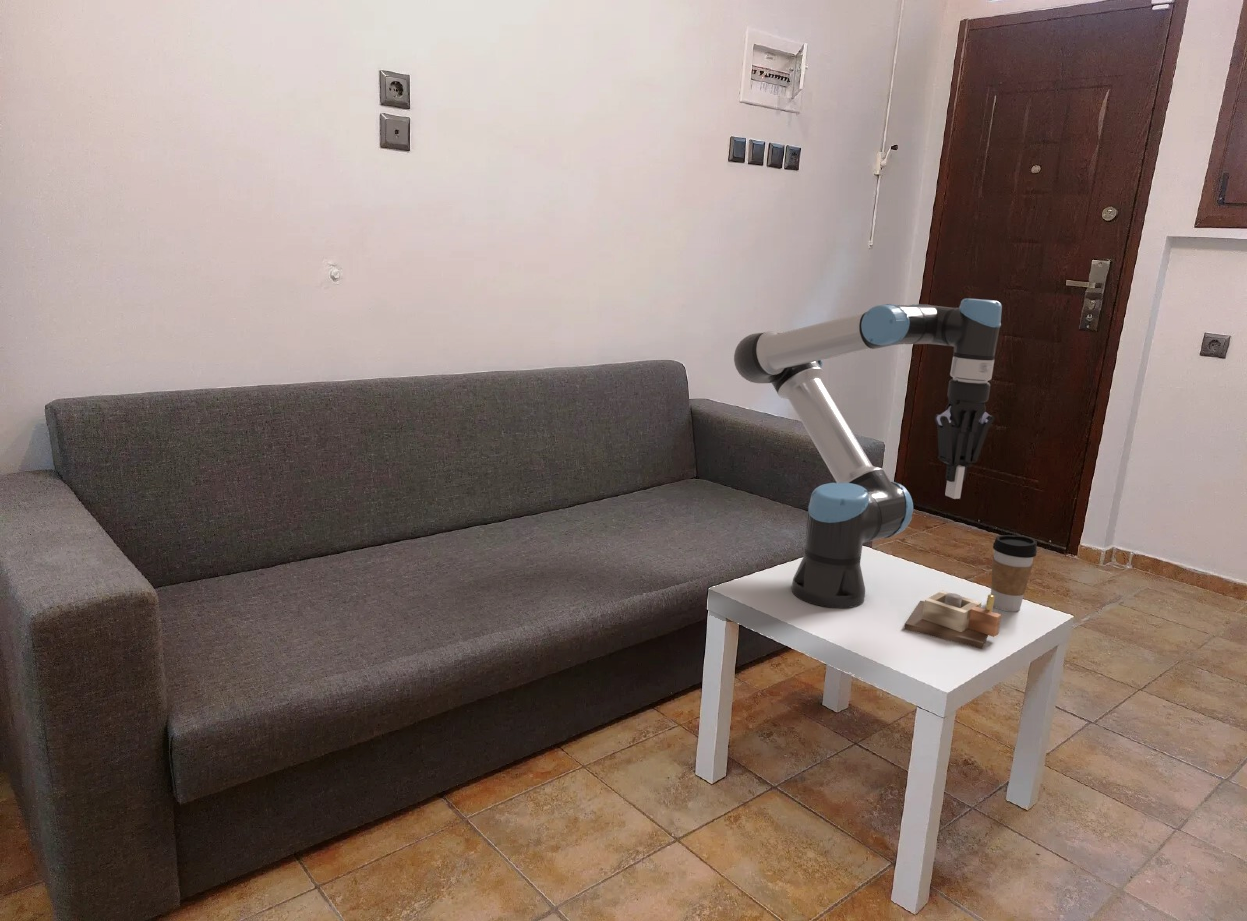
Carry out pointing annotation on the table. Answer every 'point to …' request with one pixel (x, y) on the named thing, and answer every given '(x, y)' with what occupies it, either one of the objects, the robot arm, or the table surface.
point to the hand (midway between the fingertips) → (952, 496)
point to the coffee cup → (1011, 570)
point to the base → (936, 630)
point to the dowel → (990, 602)
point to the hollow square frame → (961, 615)
